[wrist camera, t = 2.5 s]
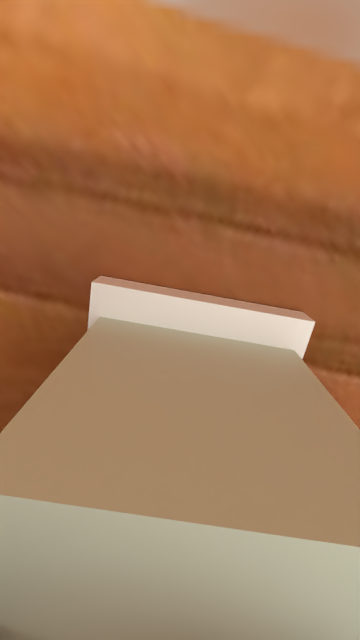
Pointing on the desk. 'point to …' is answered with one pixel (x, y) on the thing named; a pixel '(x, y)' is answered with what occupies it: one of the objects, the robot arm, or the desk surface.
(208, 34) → the desk surface
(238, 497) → the housing
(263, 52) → the desk surface
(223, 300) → the board
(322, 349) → the desk surface
